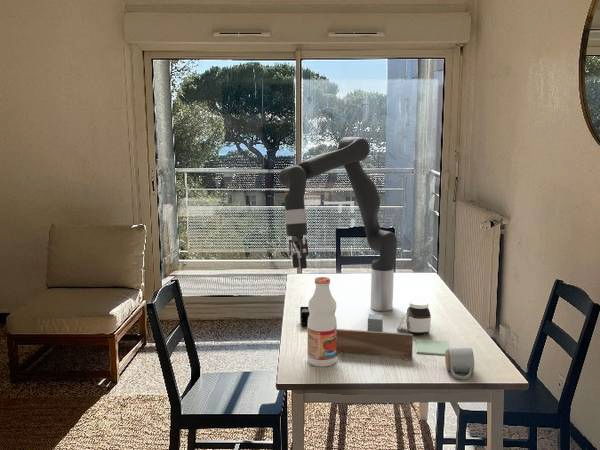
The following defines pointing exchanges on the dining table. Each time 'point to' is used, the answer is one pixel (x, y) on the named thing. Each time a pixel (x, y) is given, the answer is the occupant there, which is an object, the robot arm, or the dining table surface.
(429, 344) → the sage mat
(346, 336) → the walnut screen
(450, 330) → the dining table surface
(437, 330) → the dining table surface
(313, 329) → the fruit juice
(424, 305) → the spread jar
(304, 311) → the end cap
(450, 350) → the ceramic mug
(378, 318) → the slate block
